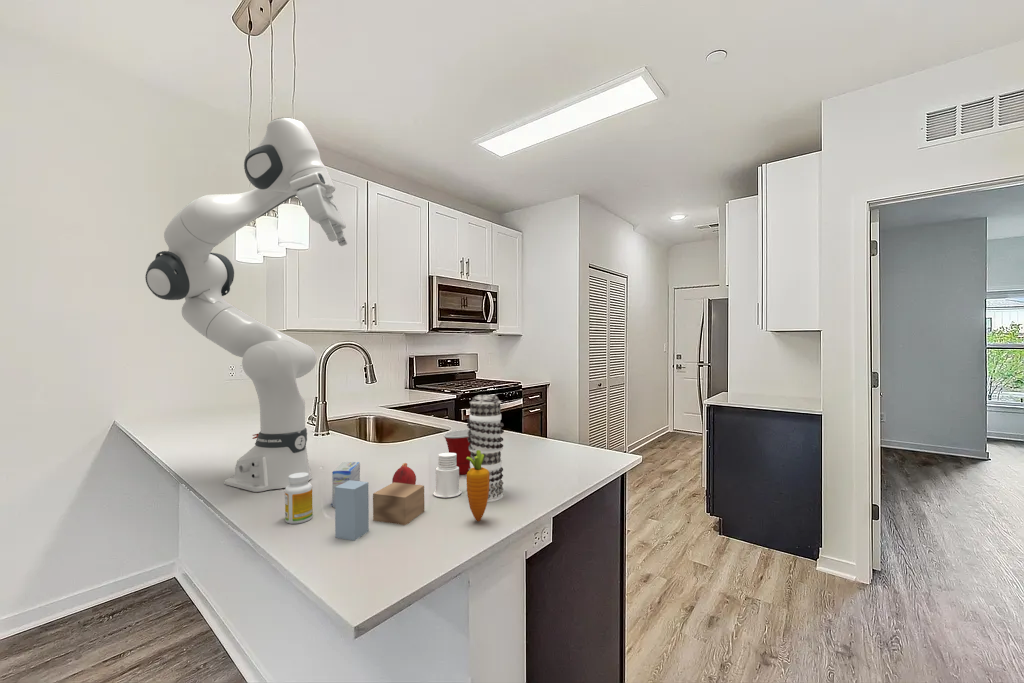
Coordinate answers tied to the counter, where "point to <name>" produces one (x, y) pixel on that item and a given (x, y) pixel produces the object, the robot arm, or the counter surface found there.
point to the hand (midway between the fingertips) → (339, 243)
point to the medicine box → (344, 475)
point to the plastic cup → (459, 448)
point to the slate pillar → (351, 510)
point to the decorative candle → (487, 439)
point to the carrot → (477, 486)
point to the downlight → (447, 476)
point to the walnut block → (398, 503)
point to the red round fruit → (404, 475)
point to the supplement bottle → (298, 499)
